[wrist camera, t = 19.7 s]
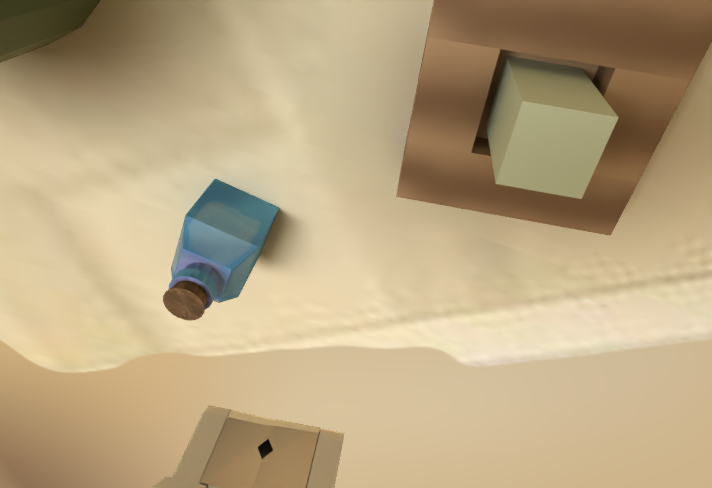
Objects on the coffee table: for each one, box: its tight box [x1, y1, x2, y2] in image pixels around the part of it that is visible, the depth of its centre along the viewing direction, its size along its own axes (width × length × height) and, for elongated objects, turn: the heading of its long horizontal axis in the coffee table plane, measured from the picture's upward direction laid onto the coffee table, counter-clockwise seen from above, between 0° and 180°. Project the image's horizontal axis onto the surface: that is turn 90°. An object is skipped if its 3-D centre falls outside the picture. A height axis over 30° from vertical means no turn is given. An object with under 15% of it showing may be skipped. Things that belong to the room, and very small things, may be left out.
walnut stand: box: [396, 0, 712, 235], centre depth 34 cm, size 16×16×4 cm
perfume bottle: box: [163, 179, 279, 320], centre depth 42 cm, size 6×6×12 cm
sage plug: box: [486, 55, 619, 199], centre depth 31 cm, size 5×5×9 cm
